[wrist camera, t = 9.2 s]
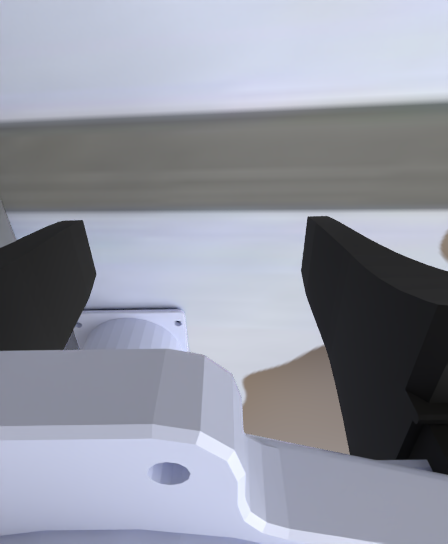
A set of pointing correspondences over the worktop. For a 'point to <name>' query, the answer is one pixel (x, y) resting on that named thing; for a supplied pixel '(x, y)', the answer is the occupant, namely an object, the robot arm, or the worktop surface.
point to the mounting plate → (5, 228)
